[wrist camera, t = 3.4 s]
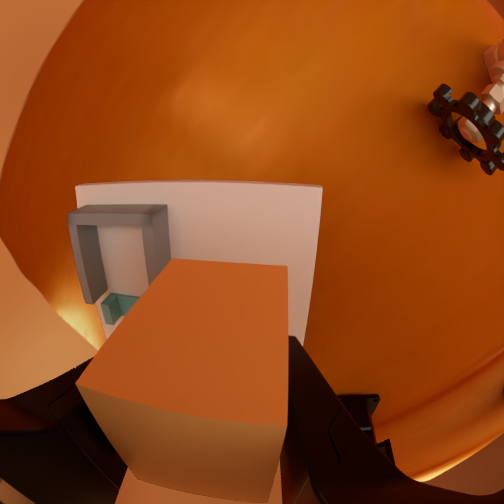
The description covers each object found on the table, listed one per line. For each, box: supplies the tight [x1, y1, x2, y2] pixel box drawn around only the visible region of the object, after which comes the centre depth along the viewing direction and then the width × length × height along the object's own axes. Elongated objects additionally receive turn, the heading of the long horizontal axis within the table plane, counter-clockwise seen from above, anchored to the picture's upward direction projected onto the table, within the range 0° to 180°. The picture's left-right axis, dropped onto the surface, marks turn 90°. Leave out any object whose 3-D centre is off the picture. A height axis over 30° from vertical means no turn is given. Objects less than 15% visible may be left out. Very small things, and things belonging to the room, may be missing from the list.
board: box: [75, 180, 323, 346], centre depth 21 cm, size 15×18×1 cm
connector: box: [75, 258, 288, 503], centre depth 8 cm, size 11×4×6 cm, turn 179°
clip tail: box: [100, 293, 140, 325], centre depth 21 cm, size 2×5×2 cm, turn 89°
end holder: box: [67, 204, 171, 304], centre depth 19 cm, size 7×7×2 cm
